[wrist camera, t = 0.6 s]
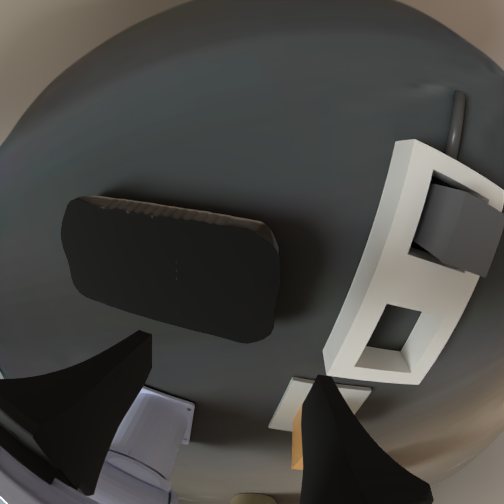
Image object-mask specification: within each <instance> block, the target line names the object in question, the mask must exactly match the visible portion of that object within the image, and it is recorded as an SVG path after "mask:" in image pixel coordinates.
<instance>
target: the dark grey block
mask: <svg viewBox="0 0 504 504" xmlns="http://www.w3.org/2000/svg"><path fill="white" fill-rule="evenodd" d="M503 228H504V214H503V213H502V212H500V211H498V210H497V209H495V208H494V207H492V206H490V205H489V204H487V203H485V202H484V201H482V200H480V199H478V198H477V197H475V196H473V195H471V194H470V193H468V192H466V191H462V190H458V189H454V188H450V187H445V186H441V185H437V184H432V183H430V185H429V189H428V192H427V196H426V199H425V203H424V206H423V210H422V213H421V216H420V219H419V222H418V225H417V228H416V231H415V234H414V237H413V241H414V242H416V243H417V244H418V245H420V246H421V247H423V248H424V249H425V250H427V251H428V252H430V253H431V254H432V255H434V256H435V257H436V258H438V259H439V260H440V261H442V262H443V263H445V264H448V265H451V266H454V267H457V268H460V269H462V270H465V271H468V272H471V273H473V274H476V275H479V276H481V277H484V278H486V276H487V273H488V271H489V268H490V266H491V263H492V261H493V258H494V255H495V252H496V249H497V247H498V244H499V241H500V238H501V234H502V231H503Z"/></svg>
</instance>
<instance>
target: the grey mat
mask: <svg viewBox="0 0 504 504" xmlns="http://www.w3.org/2000/svg"><path fill="white" fill-rule="evenodd" d="M314 381H315V380H309V379H303V378H298V377H292V379H291V381H290V383H289V385H288V387H287V389H286V391H285V393H284V395H283V397H282V399H281V401H280V403H279V405H278V407H277V409H276V411H275V413H274V415H273V417H272V419H271V421H270V423H269V425H268V428H272V429H278V430H285V431H292V421H293V419H294V418H295V416H296V414H297V413H298V411H299V409H300V408H301V406H302V404H303V402H304V400H305V398H306V397H307V395H308V393H309V391H310V389H311V387H312V385H313V383H314ZM336 386H337V387H338V389H339V391H340V393H341V394H342V396H343V398H344V399H345V401H346V403H347V404H348V406H349V407H350V409H351V411H352V412H353V414H355V413H356V412H357V411H358V409H359V408H360V407H361V405H362V404H363V402H364V401H365V400H366V398H367V397H368V395H369V394H370V393H371V388H370V387H360V386H351V385H343V384H336Z"/></svg>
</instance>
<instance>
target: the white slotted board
mask: <svg viewBox="0 0 504 504" xmlns="http://www.w3.org/2000/svg"><path fill="white" fill-rule="evenodd" d="M465 101H466V94H465V93H463V92H461V91H458V90H456V91H454V99H453V107H452V115H451V122H450V129H449V135H448V140H447V146H446V151H445V154H444V153H442V152H440V151H438V150H436V149H434V148H432V147H430V146H428V145H426V144H424V143H422V142H420V141H418V140H416V139H411V140H403V141H396V142H395V146H394V151H393V155H392V159H391V163H390V167H389V171H388V175H387V179H386V182H385V186H384V189H383V193H382V197H381V200H380V203H379V207H378V210H377V213H376V216H375V220H374V223H373V226H372V229H371V232H370V235H369V238H368V241H367V244H366V247H365V250H364V252H363V255H362V258H361V261H360V263H359V266H358V269H357V271H356V274H355V277H354V279H353V282H352V284H351V287H350V289H349V292H348V294H347V297H346V299H345V302H344V304H343V307H342V309H341V311H340V314H339V316H338V318H337V321H336V323H335V325H334V327H333V330H332V332H331V334H330V336H329V338H328V340H327V343H326V345H325V347H324V349H323V356H324V363H325V369H326V375H328V376H335V377H342V378H349V379H357V380H366V381H375V382H386V383H398V384H414V385H419V384H420V382H421V381H422V379H423V378H424V377H425V375H426V374H427V372H428V371H429V369H430V368H431V366H432V365H433V363H434V362H435V360H436V359H437V357H438V355H439V354H440V352H441V351H442V349H443V347H444V346H445V344H446V342H447V341H448V339H449V337H450V336H451V334H452V332H453V330H454V328H455V327H456V325H457V323H458V321H459V319H460V317H461V315H462V313H463V311H464V309H465V307H466V305H467V303H468V301H469V299H470V297H471V295H472V293H473V291H474V288H475V286H476V284H477V282H478V279H479V277H480V276H479V275H476V274H473V273H471V272H468V271H465V270H462V269H460V268H457V267H454V266H451V265H448V264H445V263H443V262H442V261H440V260H439V259H438V258H436V257H435V256H434V255H432V254H430V253H427V252H424V251H421V250H418V249H415V248H412V247H410V246H411V243H412V240H413V237H414V234H415V231H416V228H417V225H418V222H419V219H420V216H421V213H422V210H423V206H424V203H425V199H426V196H427V192H428V189H429V185H430V181H431V177H432V176H434V177H436V178H438V179H440V180H442V181H444V182H446V183H448V184H450V185H452V186H454V187H456V188H458V189H460V190H462V191H466V192H468V193H470V194H471V195H473V196H475V197H477V198H478V199H480V200H482V201H484V202H485V203H487V204H489V205H490V206H492V207H494V208H495V209H497V210H498V211H500V212H502V209H503V205H504V190H503V189H501V188H500V187H498V186H497V185H496V184H494V183H493V182H491V181H489V180H488V179H486V178H485V177H483V176H482V175H480V174H479V173H477V172H475V171H474V170H472V169H470V168H469V167H467V166H465V165H464V164H462V163H460V162H458V161H457V156H458V150H459V145H460V139H461V133H462V126H463V119H464V110H465ZM386 304H390V305H395V306H399V307H403V308H408V309H412V310H417V311H421V312H422V313H421V315H420V317H419V319H418V321H417V323H416V324H415V326H414V328H413V330H412V332H411V334H410V336H409V337H408V339H407V341H406V343H405V344H404V346H403V348H402V350H401V351H394V350H387V349H380V348H374V347H368V346H366V344H367V343H368V341H369V339H370V337H371V335H372V333H373V331H374V329H375V327H376V325H377V323H378V321H379V319H380V317H381V315H382V313H383V311H384V309H385V306H386Z"/></svg>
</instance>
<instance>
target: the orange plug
mask: <svg viewBox="0 0 504 504" xmlns="http://www.w3.org/2000/svg"><path fill="white" fill-rule="evenodd" d="M301 415H302V406H301V408H300V409H299V411H298V413H297V414H296V416H295V418H294V419H293V421H292V469H297V470H303V453H302V435H301Z"/></svg>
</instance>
